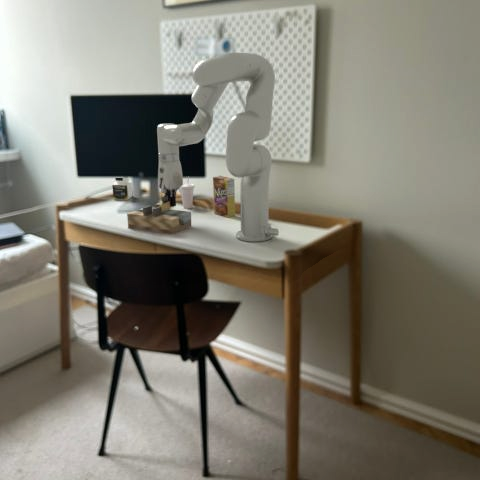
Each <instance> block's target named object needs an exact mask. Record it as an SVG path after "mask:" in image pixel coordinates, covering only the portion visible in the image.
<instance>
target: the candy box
mask: <svg viewBox="0 0 480 480" xmlns="http://www.w3.org/2000/svg"><path fill="white" fill-rule="evenodd" d="M212 185H213V186H212V187H213V189H212V190H213V214H216V215H219V216H223V217H226V218H231V217H235V216H236V203H235V202H236V201H235V196H236V195H235V193H236V192H235V188H236V187H235V178H232V177H227V176H222V175H216V176H213V177H212Z"/></svg>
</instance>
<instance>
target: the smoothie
mask: <svg viewBox="0 0 480 480" xmlns="http://www.w3.org/2000/svg"><path fill="white" fill-rule="evenodd" d="M186 179H187V181H186V183H183V185H182V186H181V187H180V188H179V190H180V196H181V202H182V207H183V209H186V210H187V209H193V202H194V199H193V198H194V189H195V184H193V183H190V182H189V177H188V178H187V177H186Z"/></svg>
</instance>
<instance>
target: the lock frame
mask: <svg viewBox="0 0 480 480" xmlns="http://www.w3.org/2000/svg"><path fill="white" fill-rule="evenodd" d="M126 215H127V216H126V218H127V228H128V229H134V230H140V231H147V232H151V233H152V232H154V233H160V234H166V235H172V234H174V235H175V234H177V233H180V232H182V231H184V230H187V229H189V228H190V227H192V211H188V210H187V211H186V210H178V209H172V208H170V210H167V211H164V212H162V209H161V207H160V206H159V207H156V208H155V206H154V207H153V205H150V204H149V205H147V206H143V207H142V208H139V209H138V211H136V210H133V211H130V212H128V213H127V212H126ZM186 228H187V229H186Z"/></svg>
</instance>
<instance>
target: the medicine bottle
mask: <svg viewBox="0 0 480 480" xmlns="http://www.w3.org/2000/svg"><path fill="white" fill-rule="evenodd" d="M114 179H115V180H114V181H115V182H114V183H112V184H111V185H112V186H111V187H112V196H113V197H112V199H113V200H118V201H119V200H120V201H128V200H130V199H132V198H133V197H132V183H133V181H130V178H115V177H114ZM131 197H132V198H131Z"/></svg>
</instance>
